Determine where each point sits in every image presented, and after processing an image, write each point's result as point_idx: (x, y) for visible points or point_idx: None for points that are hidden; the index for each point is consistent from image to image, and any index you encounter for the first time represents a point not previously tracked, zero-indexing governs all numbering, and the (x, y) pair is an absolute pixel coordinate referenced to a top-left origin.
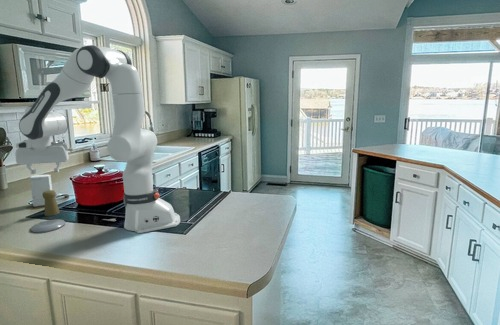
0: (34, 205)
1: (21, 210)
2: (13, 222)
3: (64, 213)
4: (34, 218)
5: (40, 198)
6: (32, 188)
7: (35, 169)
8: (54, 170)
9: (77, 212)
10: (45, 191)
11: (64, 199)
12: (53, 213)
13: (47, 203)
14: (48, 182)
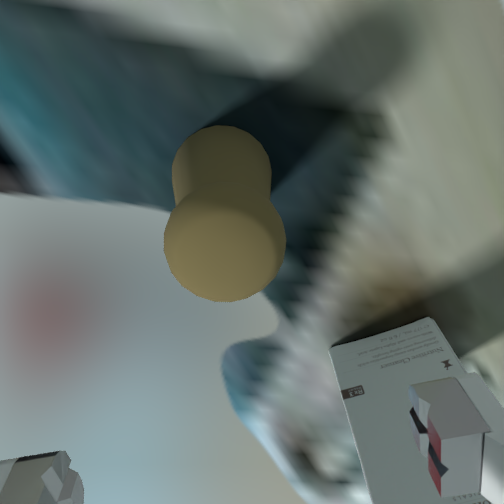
0: (426, 322)
1: (482, 258)
2: (434, 4)
3: (125, 170)
4: (307, 81)
5: (403, 365)
6: None
7: (438, 489)
8: (40, 478)
9: (30, 182)
10: (253, 247)
11: (292, 424)
12: (188, 143)
13: (223, 168)
14: (374, 489)
